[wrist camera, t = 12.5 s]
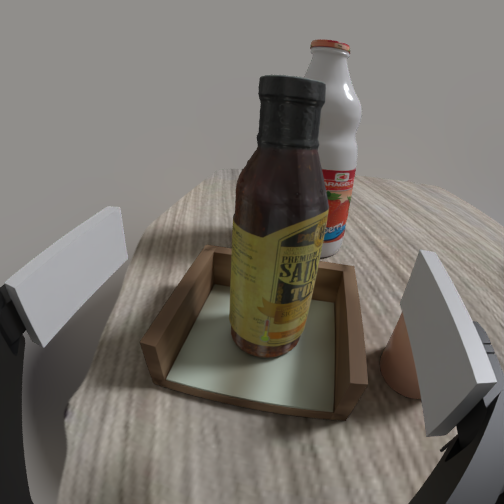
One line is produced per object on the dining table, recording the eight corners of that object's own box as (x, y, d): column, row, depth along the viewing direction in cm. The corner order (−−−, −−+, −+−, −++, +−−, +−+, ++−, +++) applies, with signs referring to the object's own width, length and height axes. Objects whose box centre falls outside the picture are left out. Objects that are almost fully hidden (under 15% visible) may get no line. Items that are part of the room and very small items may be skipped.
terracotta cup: (422, 336, 26) (446, 289, 23) (455, 386, 20) (489, 339, 17) (368, 349, 25) (389, 297, 22) (399, 408, 19) (434, 360, 16)
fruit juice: (320, 226, 47) (340, 53, 33) (353, 254, 40) (383, 50, 26) (267, 231, 45) (280, 41, 31) (293, 264, 37) (317, 30, 23)
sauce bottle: (277, 374, 21) (318, 73, 11) (214, 338, 24) (212, 72, 14) (315, 326, 26) (356, 88, 16) (258, 300, 29) (273, 80, 19)
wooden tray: (343, 305, 30) (354, 266, 28) (345, 420, 18) (368, 384, 16) (207, 284, 32) (206, 244, 30) (153, 383, 21) (139, 342, 18)
